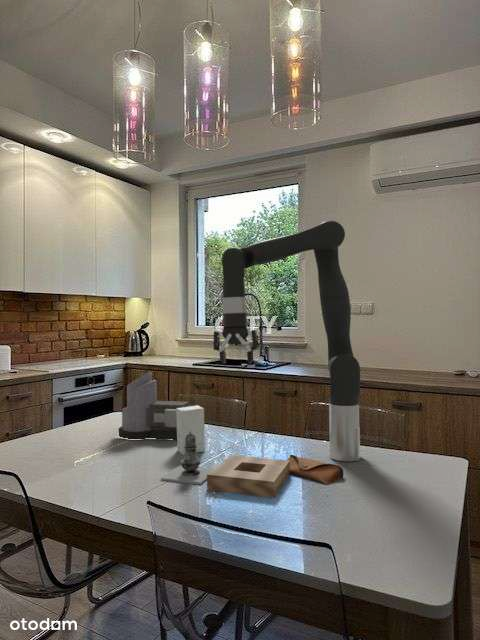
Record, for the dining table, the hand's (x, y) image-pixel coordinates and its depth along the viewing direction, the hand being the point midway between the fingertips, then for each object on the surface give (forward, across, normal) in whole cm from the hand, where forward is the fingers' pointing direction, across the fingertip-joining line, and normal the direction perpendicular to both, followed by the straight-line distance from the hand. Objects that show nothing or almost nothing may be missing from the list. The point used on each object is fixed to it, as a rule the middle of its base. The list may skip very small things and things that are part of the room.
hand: (236, 363), depth 145 cm
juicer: (+30, +41, -21) cm, 55 cm away
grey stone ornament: (+30, +9, +17) cm, 36 cm away
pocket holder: (+31, -8, +18) cm, 36 cm away
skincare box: (+30, +19, -5) cm, 36 cm away
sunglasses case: (+32, -23, +7) cm, 40 cm away
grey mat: (+30, +10, +17) cm, 36 cm away
